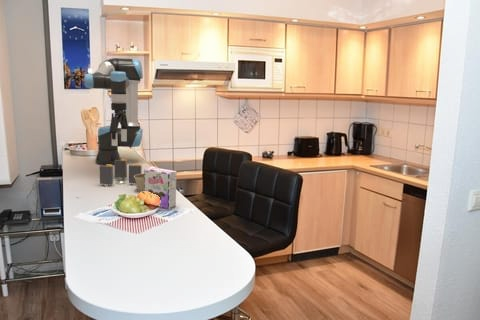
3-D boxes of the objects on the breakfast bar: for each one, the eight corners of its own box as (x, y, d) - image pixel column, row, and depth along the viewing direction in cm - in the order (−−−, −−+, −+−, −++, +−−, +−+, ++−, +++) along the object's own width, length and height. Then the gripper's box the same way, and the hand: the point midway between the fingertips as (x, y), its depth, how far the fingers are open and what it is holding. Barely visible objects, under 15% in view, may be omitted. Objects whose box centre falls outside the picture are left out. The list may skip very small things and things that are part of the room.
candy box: (143, 203, 185) (143, 168, 182) (152, 200, 190) (152, 166, 187) (168, 209, 179) (168, 173, 175) (176, 206, 184) (176, 170, 180)
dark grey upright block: (101, 184, 207) (101, 163, 204) (113, 185, 206) (113, 164, 204) (99, 185, 204) (99, 164, 202) (111, 186, 204) (111, 165, 202)
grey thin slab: (130, 183, 211) (130, 163, 208) (141, 184, 210) (141, 163, 208) (128, 184, 208) (128, 164, 206) (140, 185, 208) (140, 164, 206)
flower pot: (149, 196, 195) (149, 179, 194) (130, 194, 197) (130, 177, 195) (156, 191, 204) (157, 174, 203) (139, 189, 206) (139, 172, 204)
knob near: (116, 178, 220) (115, 158, 217) (127, 178, 219) (126, 159, 217) (114, 179, 217) (114, 159, 215) (125, 179, 217) (125, 160, 215)
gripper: (120, 100, 222) (120, 139, 226) (101, 103, 198) (102, 147, 202) (133, 101, 222) (134, 139, 226) (117, 104, 197) (117, 148, 202)
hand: (119, 143), depth 214 cm, fingers open, 13 cm apart
